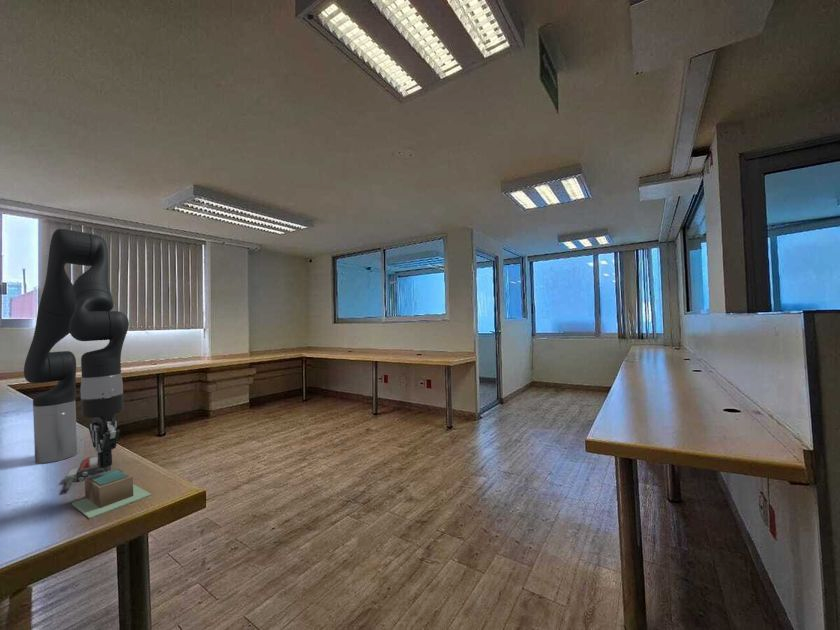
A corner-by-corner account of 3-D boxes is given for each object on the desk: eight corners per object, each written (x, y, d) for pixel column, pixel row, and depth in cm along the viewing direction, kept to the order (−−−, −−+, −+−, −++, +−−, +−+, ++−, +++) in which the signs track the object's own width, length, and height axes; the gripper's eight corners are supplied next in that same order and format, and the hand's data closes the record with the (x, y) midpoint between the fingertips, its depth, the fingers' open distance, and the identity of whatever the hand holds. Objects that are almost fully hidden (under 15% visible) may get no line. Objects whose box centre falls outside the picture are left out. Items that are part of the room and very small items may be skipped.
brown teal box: (84, 477, 83) (99, 487, 77) (116, 467, 88) (132, 476, 83) (85, 497, 83) (100, 508, 77) (117, 486, 88) (133, 495, 83)
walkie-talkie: (72, 470, 101) (59, 496, 85) (72, 455, 101) (59, 478, 85) (113, 461, 106) (108, 484, 90) (112, 446, 106) (107, 467, 90)
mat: (72, 504, 80) (72, 503, 80) (131, 483, 90) (131, 482, 90) (89, 518, 74) (89, 517, 74) (151, 495, 83) (151, 494, 83)
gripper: (72, 395, 84) (75, 467, 84) (90, 400, 77) (93, 479, 77) (112, 389, 91) (114, 455, 91) (132, 393, 84) (135, 466, 83)
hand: (105, 466), depth 84 cm, fingers closed
